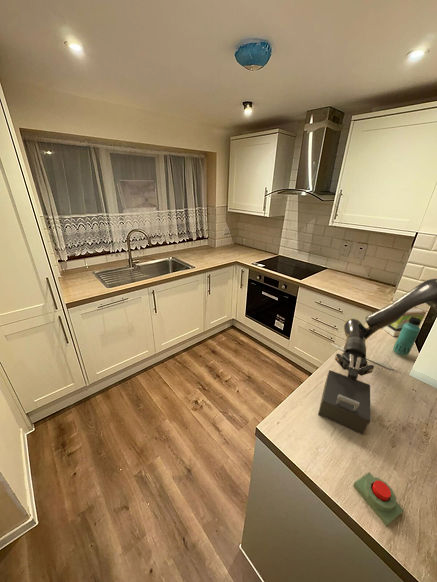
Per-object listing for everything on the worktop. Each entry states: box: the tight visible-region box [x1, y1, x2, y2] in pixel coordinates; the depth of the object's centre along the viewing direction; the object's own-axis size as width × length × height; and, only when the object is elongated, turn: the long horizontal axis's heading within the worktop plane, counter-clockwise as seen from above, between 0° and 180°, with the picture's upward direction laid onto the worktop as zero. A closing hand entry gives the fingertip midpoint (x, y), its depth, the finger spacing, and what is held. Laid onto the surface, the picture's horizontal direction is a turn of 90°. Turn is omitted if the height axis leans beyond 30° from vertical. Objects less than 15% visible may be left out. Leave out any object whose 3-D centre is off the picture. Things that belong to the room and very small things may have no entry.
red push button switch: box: [352, 471, 405, 527], centre depth 60 cm, size 6×9×4 cm
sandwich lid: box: [322, 369, 371, 425], centre depth 81 cm, size 17×14×5 cm
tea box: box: [381, 306, 427, 337], centre depth 129 cm, size 15×10×15 cm, turn 102°
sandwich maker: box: [317, 375, 369, 436], centre depth 84 cm, size 16×14×6 cm
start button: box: [372, 480, 391, 501], centre depth 59 cm, size 4×4×2 cm
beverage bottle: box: [392, 317, 422, 357], centre depth 109 cm, size 6×7×20 cm
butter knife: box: [330, 342, 395, 371], centre depth 111 cm, size 1×27×3 cm
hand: (352, 377), depth 79 cm, fingers closed
